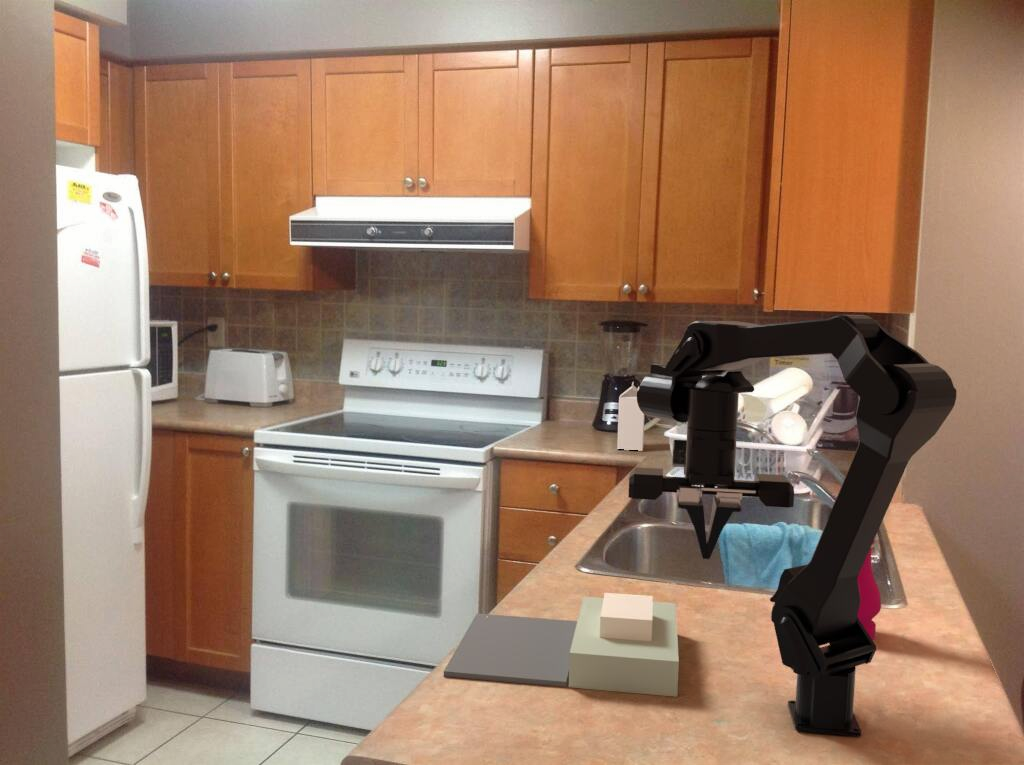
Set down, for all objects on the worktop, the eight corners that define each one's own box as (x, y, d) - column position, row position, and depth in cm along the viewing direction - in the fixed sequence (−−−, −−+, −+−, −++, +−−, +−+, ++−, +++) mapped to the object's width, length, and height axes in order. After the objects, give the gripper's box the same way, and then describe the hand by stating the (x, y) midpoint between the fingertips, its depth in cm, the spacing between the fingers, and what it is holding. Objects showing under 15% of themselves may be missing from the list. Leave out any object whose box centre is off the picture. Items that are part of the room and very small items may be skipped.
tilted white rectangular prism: (651, 641, 110) (652, 620, 110) (599, 637, 111) (600, 616, 111) (652, 615, 119) (652, 596, 119) (604, 611, 120) (604, 592, 120)
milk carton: (617, 450, 268) (619, 383, 266) (618, 446, 275) (620, 381, 273) (642, 451, 267) (645, 384, 265) (643, 447, 273) (645, 382, 272)
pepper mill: (837, 620, 131) (845, 477, 129) (888, 634, 126) (898, 485, 124) (811, 632, 126) (819, 483, 124) (863, 648, 121) (873, 493, 119)
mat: (565, 687, 107) (566, 681, 106) (443, 676, 109) (443, 671, 109) (580, 625, 126) (580, 621, 126) (476, 617, 128) (476, 613, 128)
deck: (677, 696, 105) (678, 661, 104) (568, 687, 107) (569, 652, 106) (674, 633, 124) (675, 603, 124) (582, 625, 126) (583, 596, 126)
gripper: (785, 422, 118) (778, 545, 119) (633, 415, 121) (628, 536, 122) (798, 435, 107) (790, 571, 108) (630, 427, 110) (625, 560, 111)
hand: (705, 558), depth 113 cm, fingers closed
